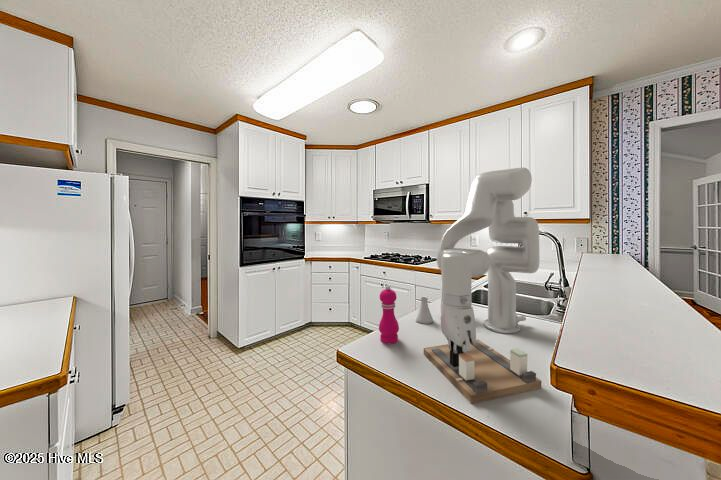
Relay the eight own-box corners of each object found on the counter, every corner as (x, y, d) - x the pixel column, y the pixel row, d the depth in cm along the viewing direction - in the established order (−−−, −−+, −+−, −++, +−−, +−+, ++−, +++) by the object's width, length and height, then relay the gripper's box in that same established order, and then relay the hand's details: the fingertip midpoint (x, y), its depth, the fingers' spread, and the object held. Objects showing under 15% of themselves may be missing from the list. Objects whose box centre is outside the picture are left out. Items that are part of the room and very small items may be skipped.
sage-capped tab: (510, 369, 71) (510, 349, 71) (517, 367, 72) (518, 348, 72) (519, 375, 69) (519, 355, 68) (527, 374, 69) (527, 353, 69)
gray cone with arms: (430, 325, 108) (430, 301, 107) (413, 322, 112) (412, 299, 111) (435, 319, 114) (435, 296, 114) (419, 316, 118) (418, 294, 117)
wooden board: (423, 354, 86) (423, 342, 86) (478, 345, 91) (478, 333, 90) (471, 403, 63) (471, 387, 62) (541, 388, 67) (541, 373, 67)
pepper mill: (398, 345, 93) (397, 288, 91) (377, 343, 94) (376, 287, 93) (399, 335, 100) (398, 282, 98) (380, 334, 101) (378, 282, 100)
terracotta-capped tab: (459, 373, 70) (458, 353, 70) (467, 372, 71) (467, 352, 70) (466, 380, 67) (466, 359, 67) (474, 378, 68) (474, 358, 67)
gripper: (487, 306, 65) (487, 378, 67) (453, 290, 80) (453, 350, 81) (460, 309, 64) (460, 383, 65) (429, 292, 78) (430, 353, 80)
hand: (456, 364), depth 73 cm, fingers closed
